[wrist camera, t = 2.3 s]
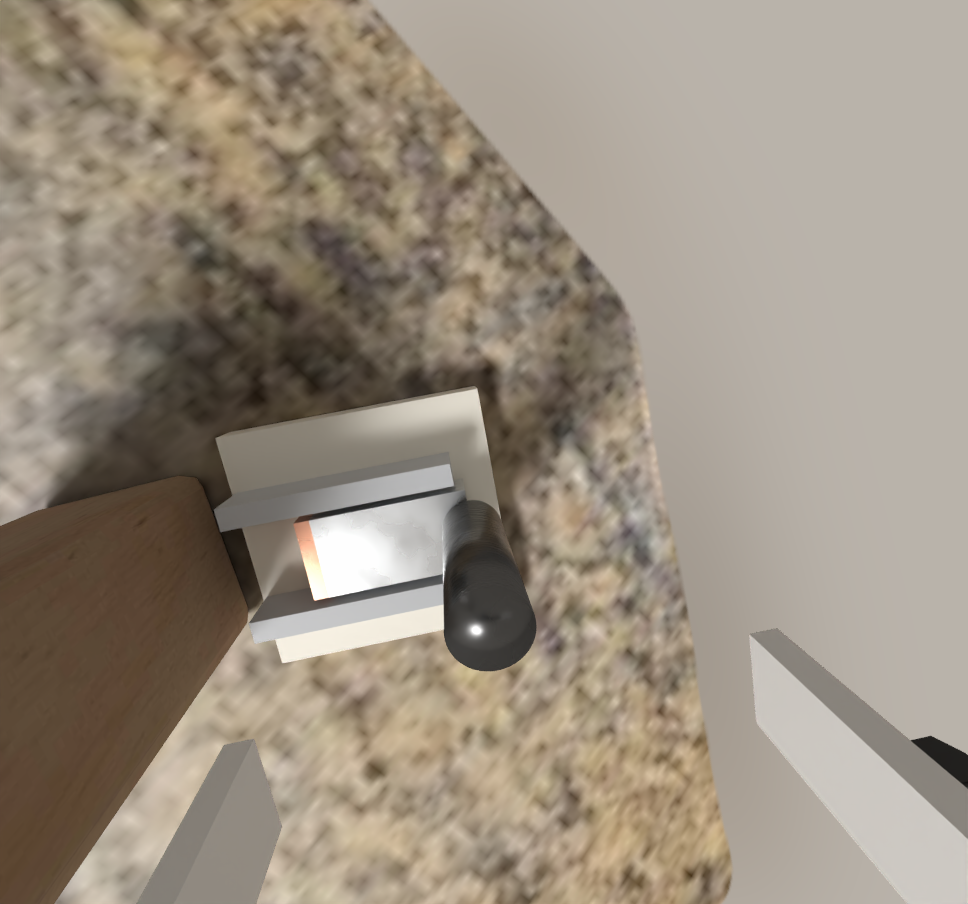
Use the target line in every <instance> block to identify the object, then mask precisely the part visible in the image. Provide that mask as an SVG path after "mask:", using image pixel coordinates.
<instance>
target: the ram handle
mask: <svg viewBox="0 0 968 904" xmlns="http://www.w3.org/2000/svg"><path fill="white" fill-rule="evenodd" d="M453 481H454V486H451V487H446V488H441V489H436V490H431V491H426V492H421V493H416V494H411V495H406V496H401V497H396V498H391V499H385V500H380V501H375V502H370V503H365V504H360V505H355V506H350V507H345V508H340V509H335V510H330V511H325V512H320V513H315V514H309V515H304V516H299V517H298V518H297V520H296V521H295V522H294V523H293V525H294V529H295V532H296V536H297V539H298V543H299V547H300V550H301V554H302V558H303V561H304V565H305V568H306V572H307V576H308V579H309V583H310V587H311V590H312V594H313V598H314V600H319V599H324V598H329V597H334V596H339V595H343V594H348V593H353V592H358V591H363V590H368V589H373V588H378V587H383V586H387V585H392V584H397V583H402V582H407V581H412V580H417V579H422V578H427V577H431V576H436V575H441V574H443V603H444V637H445V642H446V645H447V647H448V649H449V651H450V652H451V654H452V655H453V656H454V658H455V659H457V660H458V661H459V662H460V663H462V664H463V665H465V666H467V667H469V668H472V669H475V670H479V671H496V670H501V669H504V668H507V667H509V666H511V665H513V664H515V663H516V662H518V661H519V660H520V659H521V658H523V657H524V656H525V654H526V653H527V652H528V651H529V649H530V648H531V646H532V644H533V641H534V638H535V634H536V619H535V615H534V612H533V609H532V607H531V604H530V601H529V598H528V595H527V592H526V589H525V587H524V584H523V581H522V578H521V575H520V572H519V570H518V567H517V564H516V561H515V558H514V555H513V552H512V550H511V547H510V544H509V541H508V538H507V535H506V533H505V530H504V527H503V524H502V521H501V518H500V516H499V514H498V513H497V511H496V510H495V509H494V508H493V507H492V506H490V505H489V504H487V503H485V502H483V501H479V500H468V501H467V498H466V493H465V488H464V482H463V478H461V479H456V480H453Z"/></svg>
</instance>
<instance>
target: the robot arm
mask: <svg viewBox="0 0 968 904" xmlns="http://www.w3.org/2000/svg"><path fill="white" fill-rule="evenodd" d="M749 638H750V650H751V662H752V675H753V688H754V699H755V712H756V723H757V724H758V726H759V727H760V728H761V729H762V730H763V732H764V733H765V734H766V735H767V736H768V738H770V740H771V741H772V742H773V744H774V745H775V746H776V747H777V748H778V749H779V751H780V752H781V753H782V754H783V755H784V757H785V758H786V759H787V760H788V762H789V763H790V764H791V765H792V766H793V768H794V769H795V770H796V771H797V772H798V774H799V775H800V776H801V777H802V778H803V780H804V781H805V782H806V783H807V784H808V785H809V787H810V788H811V789H812V790H813V792H814V793H815V794H816V795H817V796H818V798H819V799H820V800H821V801H822V802H823V804H824V805H825V806H826V807H827V808H828V810H829V811H830V812H831V813H832V814H833V815H834V817H835V818H836V819H837V820H838V821H839V822H840V824H841V825H842V826H843V828H844V829H845V830H846V831H847V832H848V833H849V835H850V836H851V837H852V838H853V840H854V841H855V842H856V843H857V844H858V846H859V847H860V848H861V849H862V850H863V851H864V853H865V854H866V855H867V856H868V858H869V859H870V860H871V861H872V862H873V864H874V865H875V866H876V867H877V868H878V870H880V872H881V873H882V874H883V876H884V877H885V878H886V879H887V880H888V882H889V883H890V884H891V885H892V886H893V888H895V890H896V891H897V892H898V893H899V895H900V896H901V897H902V898H903V900H904V901H905V902H906V903H907V904H968V755H967V754H966V753H964V752H962V751H960V750H958V749H956V748H954V747H952V746H950V745H948V744H946V743H944V742H942V741H940V740H938V739H936V738H934V737H932V736H928V737H924V738H919V739H915V740H909V739H908V738H907V737H906V736H904V735H903V734H902V733H901V732H900V731H898V730H897V729H896V728H895V727H894V726H892V725H891V724H890V723H889V722H888V721H887V720H885V719H884V718H883V717H882V716H881V715H879V714H878V713H877V712H876V711H875V710H873V709H872V708H871V707H870V706H869V705H867V704H866V703H865V702H864V701H863V700H861V699H860V698H859V697H858V696H857V695H856V694H854V693H853V692H852V691H851V690H850V689H849V688H847V687H846V686H845V685H844V684H842V683H841V682H840V681H839V680H838V679H836V678H835V677H834V676H833V675H832V674H831V673H830V672H828V671H827V670H826V669H825V668H824V667H822V666H821V665H820V664H819V663H818V662H817V661H815V660H814V659H813V658H812V657H811V656H809V655H808V654H807V653H806V652H805V651H803V650H802V649H801V648H800V647H799V646H798V645H796V644H795V643H794V642H793V641H792V640H790V639H789V638H788V637H787V636H786V635H784V634H783V633H782V632H781V631H780V630H778V629H777V628H776V629H771V630H766V631H761V632H756V633H752V634H749ZM281 828H282V825H281V822H280V819H279V816H278V812H277V809H276V806H275V803H274V800H273V797H272V794H271V790H270V787H269V784H268V781H267V778H266V775H265V772H264V768H263V765H262V762H261V759H260V756H259V753H258V750H257V746H256V743H255V740H254V739H250V740H245V741H241V742H236V743H231V744H226V745H224V746H223V748H222V749H221V751H220V753H219V755H218V757H217V759H216V760H215V762H214V764H213V766H212V768H211V769H210V771H209V773H208V775H207V777H206V779H205V780H204V782H203V784H202V786H201V788H200V789H199V791H198V793H197V795H196V797H195V798H194V800H193V802H192V804H191V806H190V808H189V809H188V811H187V813H186V815H185V817H184V818H183V820H182V822H181V824H180V826H179V828H178V829H177V831H176V833H175V835H174V837H173V838H172V840H171V842H170V844H169V846H168V847H167V849H166V851H165V853H164V855H163V857H162V858H161V860H160V862H159V864H158V866H157V867H156V869H155V871H154V873H153V875H152V876H151V878H150V880H149V882H148V884H147V886H146V887H145V889H144V891H143V893H142V895H141V896H140V898H139V900H138V902H137V904H256V902H257V899H258V896H259V893H260V890H261V887H262V884H263V881H264V879H265V876H266V873H267V870H268V867H269V864H270V861H271V858H272V855H273V852H274V849H275V846H276V843H277V840H278V837H279V834H280V831H281Z"/></svg>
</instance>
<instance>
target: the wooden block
mask: <svg viewBox="0 0 968 904" xmlns="http://www.w3.org/2000/svg"><path fill="white" fill-rule="evenodd" d="M247 619H248V606H247V604H246V601H245V598H244V596H243V593H242V590H241V588H240V585H239V582H238V580H237V577H236V574H235V572H234V569H233V566H232V564H231V561H230V558H229V556H228V553H227V550H226V548H225V545H224V542H223V540H222V537H221V534H220V532H219V529H218V526H217V524H216V521H215V518H214V516H213V513H212V510H211V508H210V505H209V502H208V500H207V497H206V494H205V492H204V489H203V486H202V485H201V483H200V482H199V481H198V480H197V479H196V477H186V476H175V477H171V478H167V479H163V480H158V481H154V482H150V483H146V484H142V485H138V486H134V487H130V488H126V489H122V490H118V491H114V492H110V493H106V494H102V495H98V496H94V497H90V498H86V499H82V500H78V501H74V502H70V503H66V504H62V505H58V506H54V507H50V508H46V509H42V510H38V511H35V512H33V513H31V514H28V515H26V516H23V517H21V518H19V519H16V520H14V521H11V522H9V523H7V524H4V525H2V526H0V904H54V903H55V901H56V900H57V899H58V897H59V896H60V894H61V893H62V891H63V890H64V888H65V887H66V885H67V884H68V883H69V881H70V880H71V878H72V877H73V875H74V874H75V872H76V871H77V869H78V868H79V867H80V865H81V864H82V862H83V861H84V859H85V858H86V856H87V855H88V853H89V852H90V851H91V849H92V848H93V846H94V845H95V843H96V842H97V840H98V839H99V837H100V836H101V835H102V833H103V832H104V830H105V829H106V827H107V826H108V824H109V823H110V821H111V820H112V819H113V817H114V816H115V814H116V813H117V811H118V810H119V808H120V807H121V805H122V804H123V803H124V801H125V800H126V798H127V797H128V795H129V794H130V792H131V791H132V789H133V788H134V787H135V785H136V784H137V782H138V781H139V779H140V778H141V776H142V775H143V773H144V772H145V770H146V769H147V768H148V766H149V765H150V763H151V762H152V760H153V759H154V757H155V756H156V754H157V753H158V752H159V750H160V749H161V747H162V746H163V744H164V743H165V741H166V740H167V738H168V737H169V736H170V734H171V733H172V731H173V730H174V728H175V727H176V725H177V724H178V722H179V721H180V720H181V718H182V717H183V715H184V714H185V712H186V711H187V709H188V708H189V706H190V705H191V704H192V702H193V701H194V699H195V698H196V696H197V695H198V693H199V692H200V690H201V689H202V688H203V686H204V685H205V683H206V682H207V680H208V679H209V677H210V676H211V674H212V673H213V672H214V670H215V669H216V667H217V666H218V664H219V663H220V661H221V660H222V658H223V657H224V655H225V654H226V653H227V651H228V650H229V648H230V647H231V645H232V644H233V642H234V641H235V639H236V638H237V637H238V635H239V634H240V632H241V631H242V629H243V628H244V626H245V625H246V623H247Z"/></svg>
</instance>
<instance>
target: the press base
mask: <svg viewBox="0 0 968 904" xmlns="http://www.w3.org/2000/svg"><path fill="white" fill-rule="evenodd" d="M215 439H216V442H217V446H218V449H219V453H220V456H221V459H222V463H223V466H224V469H225V473H226V476H227V479H228V483H229V486H230V489H231V493H232V497H230V498H229V499H228V500H226V501H225V502H223V503H222V504H221V505H219V506H218V507H217V508H215V509H214V513H215V516H216V519H217V523H218V526H219V529H220V532H223V531H228V530H233V529H238V528H242V529H243V533H244V536H245V540H246V543H247V546H248V550H249V553H250V556H251V560H252V563H253V566H254V570H255V573H256V576H257V580H258V583H259V586H260V590H261V593H262V596H263V600H264V602H263V603H262V605H261V606H260V608H259V609H258V611H257V612H256V614H255V615H254V617H253V618H252V620H251V621H250V622H249V626H250V629H251V633H252V636H253V639H254V642H255V644H256V643H261V642H265V641H270V640H276V643H277V647H278V650H279V653H280V657H281V660H282V663H286V662H291V661H296V660H301V659H305V658H310V657H315V656H320V655H324V654H329V653H334V652H339V651H344V650H348V649H353V648H358V647H363V646H367V645H372V644H377V643H382V642H387V641H391V640H396V639H401V638H406V637H410V636H415V635H420V634H425V633H429V632H434V631H439V630H444V603H443V574H441V575H436V576H431V577H427V578H422V579H417V580H412V581H407V582H402V583H397V584H392V585H387V586H383V587H378V588H373V589H368V590H363V591H358V592H353V593H348V594H343V595H339V596H334V597H329V598H324V599H319V600H314V598H313V594H312V590H311V587H310V583H309V579H308V576H307V572H306V568H305V565H304V561H303V558H302V554H301V550H300V547H299V543H298V539H297V536H296V532H295V529H294V525H293V523H294V522H295V521H296V520H297V518H298V517H299V516H304V515H309V514H315V513H320V512H325V511H330V510H335V509H340V508H345V507H350V506H355V505H360V504H365V503H370V502H375V501H380V500H385V499H391V498H396V497H401V496H406V495H411V494H416V493H421V492H426V491H431V490H436V489H441V488H446V487H451V486H454V481H453V480H456V479H461V478H463V482H464V488H465V493H466V498H467V501H468V500H479V501H483V502H485V503H487V504H489V505H490V506H492V507H493V508H494V509H495V510H496V511H497V513H498V514H499V516H500V510H499V505H498V499H497V494H496V488H495V483H494V477H493V472H492V466H491V461H490V456H489V450H488V445H487V439H486V434H485V428H484V423H483V417H482V412H481V406H480V401H479V395H478V390H477V388H476V387H475V386H471V387H466V388H461V389H456V390H450V391H445V392H440V393H434V394H429V395H424V396H418V397H413V398H408V399H403V400H397V401H392V402H387V403H381V404H376V405H371V406H366V407H360V408H355V409H350V410H344V411H339V412H334V413H328V414H323V415H318V416H313V417H307V418H302V419H297V420H291V421H286V422H281V423H275V424H270V425H265V426H260V427H254V428H249V429H244V430H238V431H233V432H229V433H227V434H224V435H222V436H219V437H217V438H215ZM500 518H501V516H500Z"/></svg>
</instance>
